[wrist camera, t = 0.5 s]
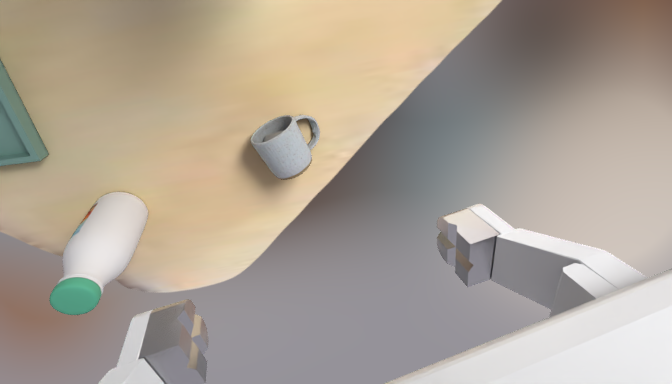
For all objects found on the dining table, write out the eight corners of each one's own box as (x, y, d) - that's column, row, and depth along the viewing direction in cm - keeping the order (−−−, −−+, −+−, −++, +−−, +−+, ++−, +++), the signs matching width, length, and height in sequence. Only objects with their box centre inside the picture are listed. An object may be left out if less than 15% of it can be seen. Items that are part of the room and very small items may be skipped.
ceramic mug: (274, 170, 58) (280, 190, 51) (247, 132, 53) (251, 149, 47) (325, 140, 58) (338, 156, 51) (303, 99, 53) (314, 111, 47)
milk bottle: (116, 181, 51) (60, 263, 34) (159, 209, 55) (128, 296, 38) (83, 212, 52) (12, 308, 35) (128, 238, 56) (84, 335, 39)
